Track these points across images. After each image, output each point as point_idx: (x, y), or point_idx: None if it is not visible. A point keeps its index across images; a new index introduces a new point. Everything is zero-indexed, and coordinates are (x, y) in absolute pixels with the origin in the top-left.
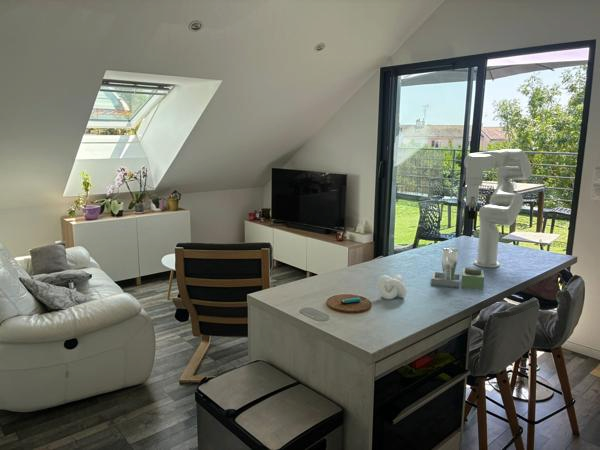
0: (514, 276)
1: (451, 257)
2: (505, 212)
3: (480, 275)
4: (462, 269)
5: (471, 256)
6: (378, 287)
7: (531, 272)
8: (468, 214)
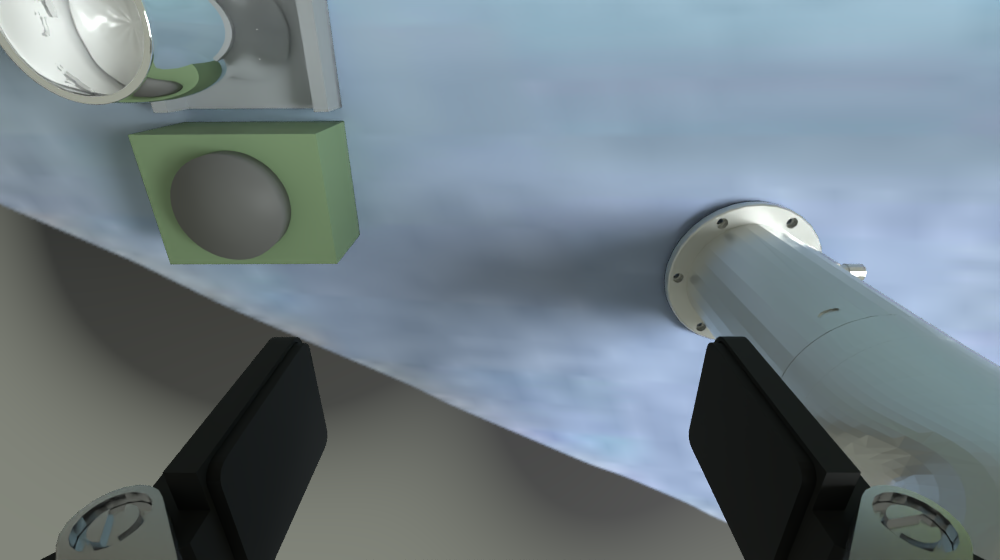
0: (530, 383)
1: (48, 42)
2: None
3: (196, 245)
4: (273, 134)
5: (942, 188)
6: None
7: (623, 450)
8: (233, 396)
